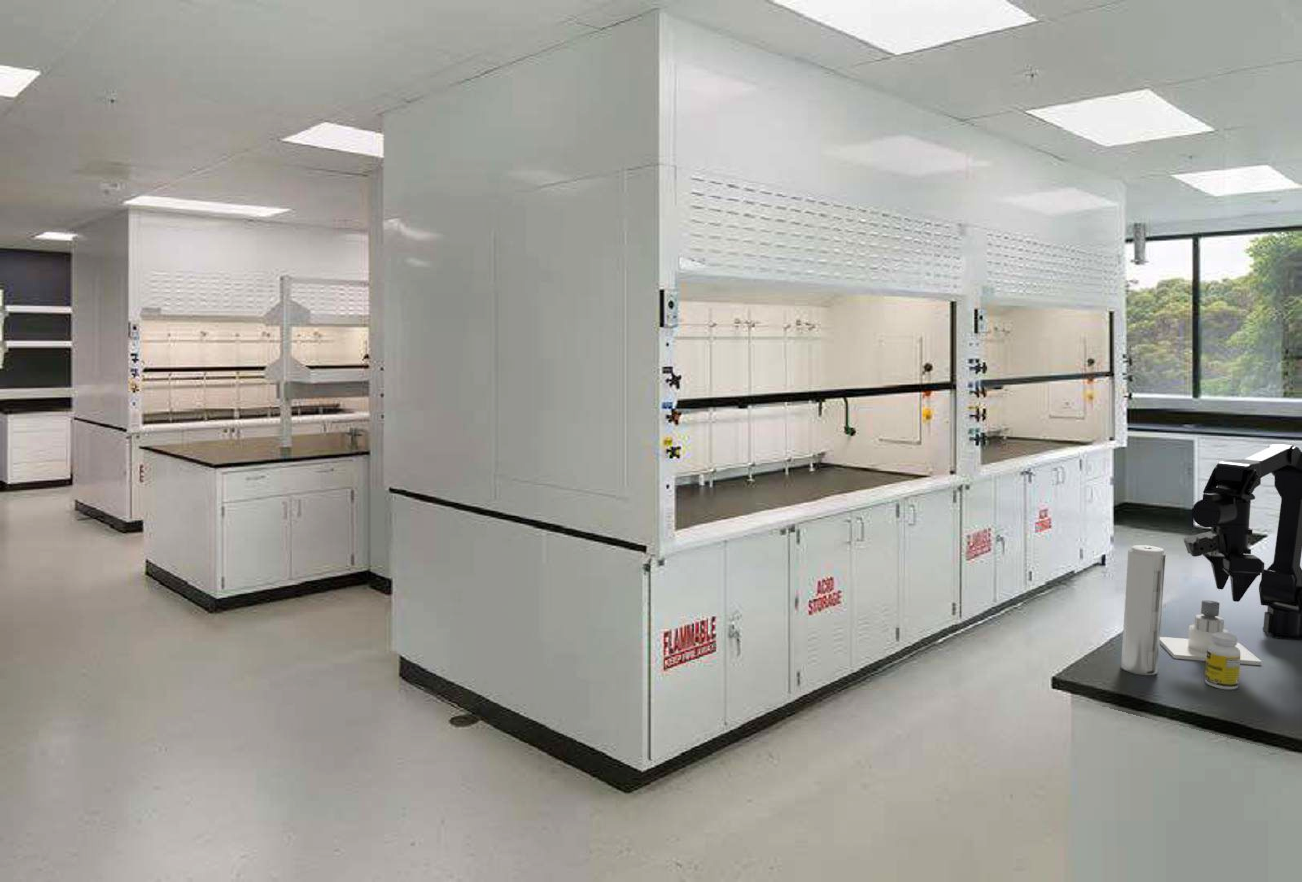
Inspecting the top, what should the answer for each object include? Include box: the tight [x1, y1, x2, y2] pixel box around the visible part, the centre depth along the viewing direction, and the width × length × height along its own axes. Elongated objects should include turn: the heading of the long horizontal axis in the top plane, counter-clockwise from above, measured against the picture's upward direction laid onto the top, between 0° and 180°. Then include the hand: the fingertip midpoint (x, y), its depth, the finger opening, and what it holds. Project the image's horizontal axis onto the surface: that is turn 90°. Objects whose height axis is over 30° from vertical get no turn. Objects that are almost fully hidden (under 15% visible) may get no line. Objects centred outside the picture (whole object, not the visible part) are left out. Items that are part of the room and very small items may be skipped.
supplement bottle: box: [1204, 632, 1241, 690], centre depth 170 cm, size 5×5×10 cm
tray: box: [1160, 636, 1263, 666], centre depth 189 cm, size 16×12×1 cm
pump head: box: [1200, 599, 1220, 620], centre depth 189 cm, size 3×3×6 cm
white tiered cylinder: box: [1187, 613, 1229, 653], centre depth 189 cm, size 7×7×7 cm
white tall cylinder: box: [1120, 544, 1166, 676], centre depth 178 cm, size 6×6×25 cm
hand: (1227, 595), depth 187 cm, fingers open, 9 cm apart
